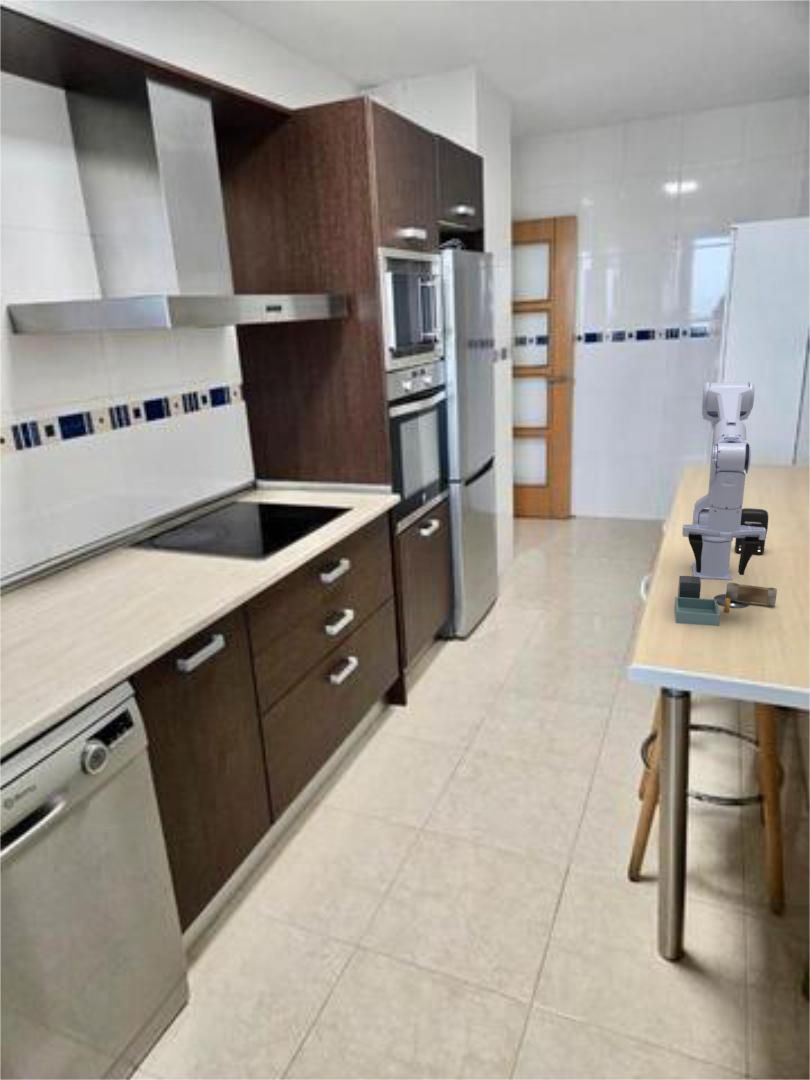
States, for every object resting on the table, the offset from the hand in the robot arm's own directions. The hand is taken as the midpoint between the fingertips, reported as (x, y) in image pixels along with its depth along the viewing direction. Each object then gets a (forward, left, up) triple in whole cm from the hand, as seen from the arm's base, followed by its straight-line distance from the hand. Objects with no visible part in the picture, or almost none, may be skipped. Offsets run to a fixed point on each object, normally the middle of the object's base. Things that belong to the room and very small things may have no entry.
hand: (719, 572), depth 137 cm
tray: (+1, -4, -10) cm, 10 cm away
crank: (-8, +4, -10) cm, 13 cm away
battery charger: (-41, +11, -10) cm, 44 cm away
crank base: (-8, +4, -10) cm, 13 cm away
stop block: (-7, -5, -10) cm, 13 cm away
